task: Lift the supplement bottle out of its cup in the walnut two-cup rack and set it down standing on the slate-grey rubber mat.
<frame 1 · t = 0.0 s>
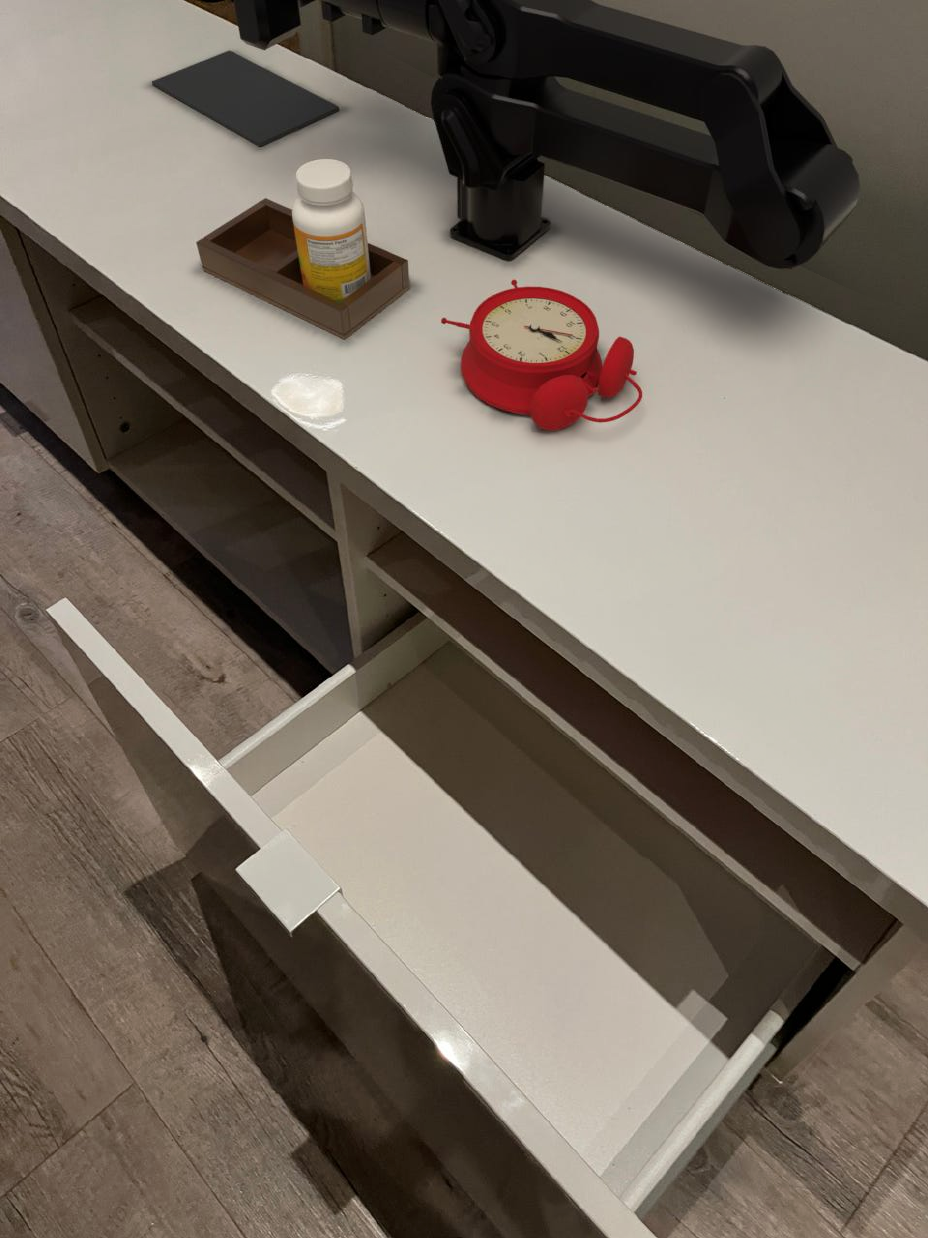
supplement bottle: (338, 293, 74), resting on rack
mat: (244, 97, 94), on the table
rack: (305, 279, 75), on the table
alarm clock: (546, 384, 68), on the table
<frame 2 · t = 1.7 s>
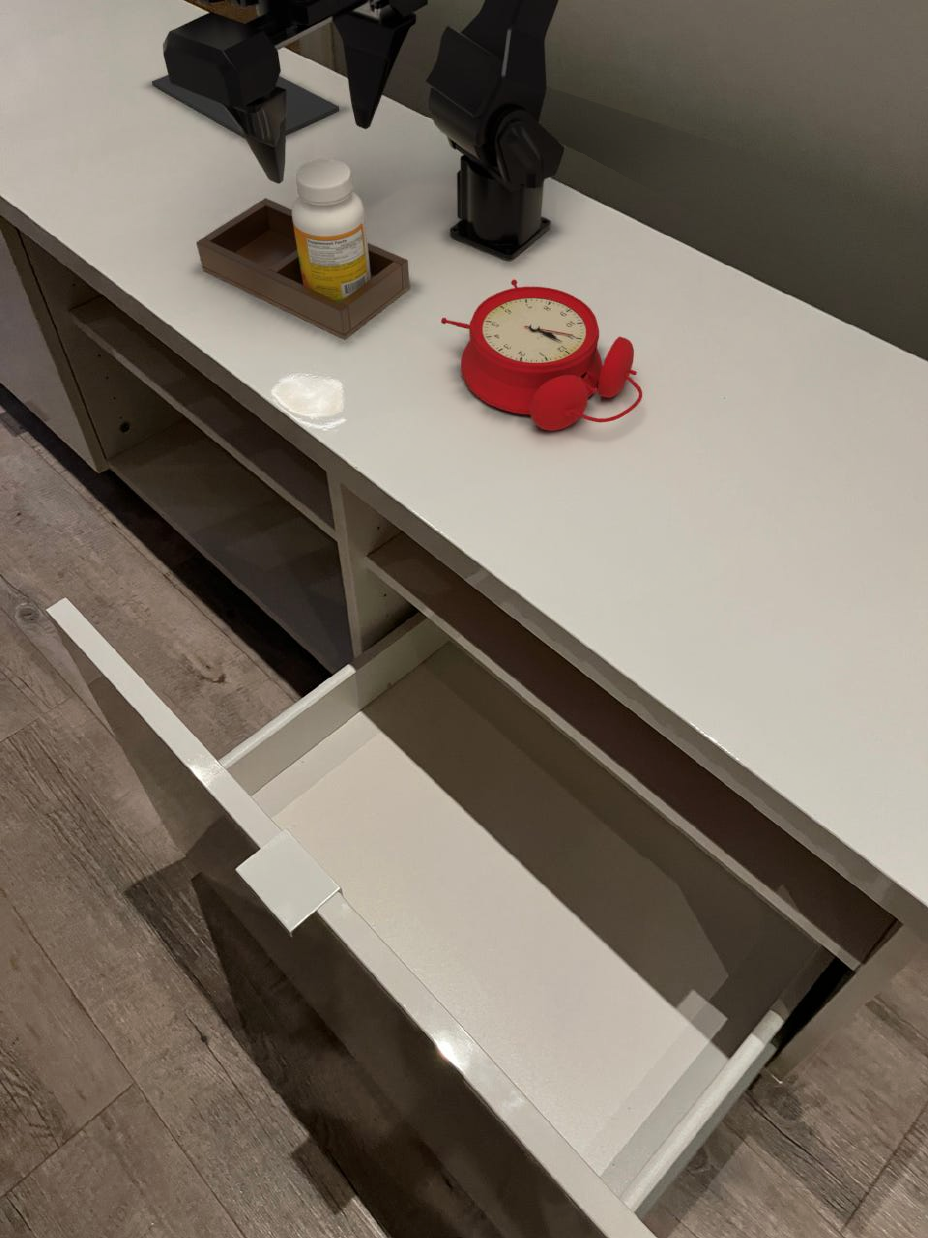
hand: (320, 152, 65), 11 cm above the table, tool pointing down, fingers open, 9 cm apart
nothing on the table moved.
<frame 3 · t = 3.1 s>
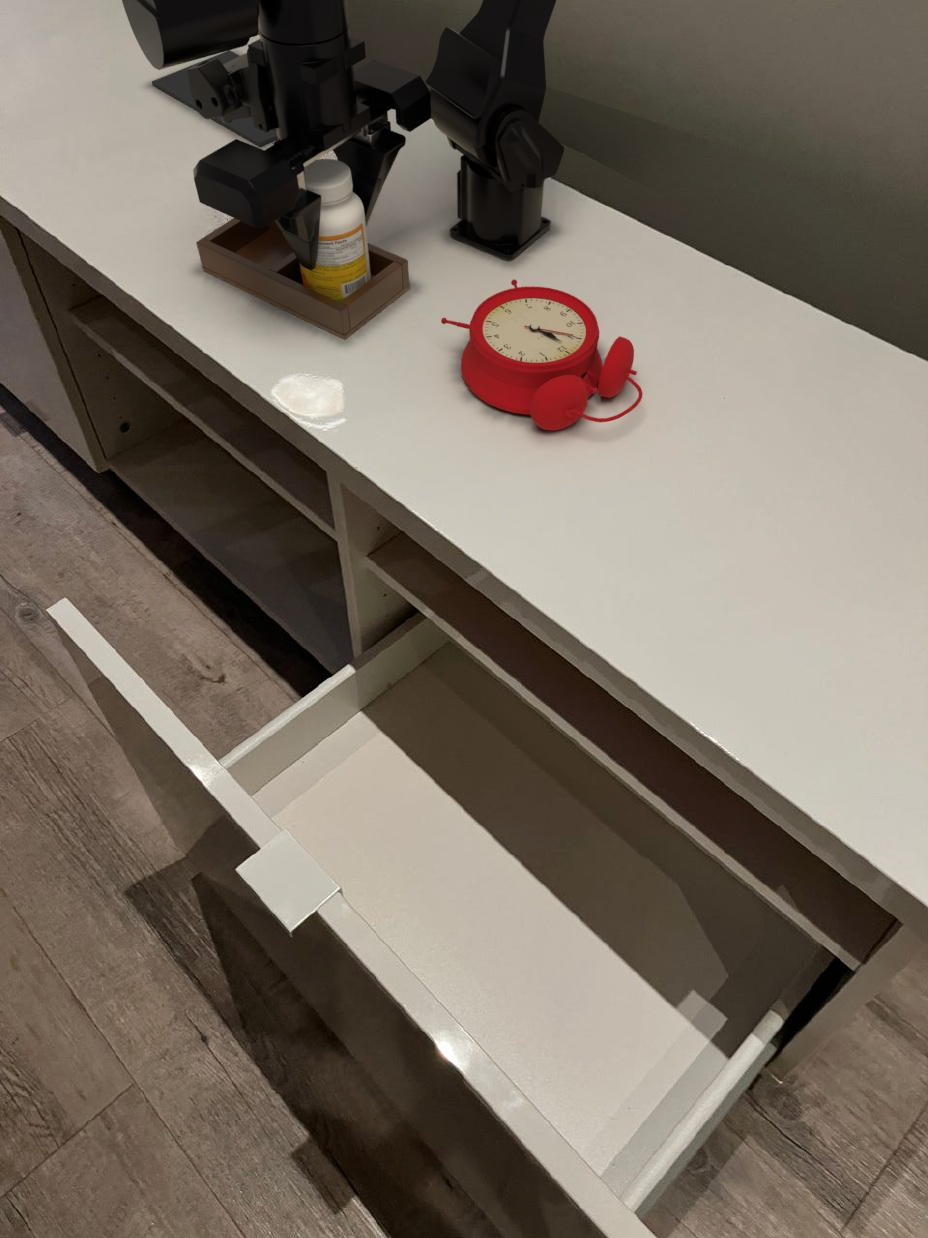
hand: (333, 249, 71), 4 cm above the table, tool pointing down, fingers closed on supplement bottle, 5 cm apart
supplement bottle: (338, 293, 74), resting on rack, touching gripper
everything else where it was.
when the fingers open (4 cm above the table, at t = 9.8 s): supplement bottle stays where it is, resting on mat.
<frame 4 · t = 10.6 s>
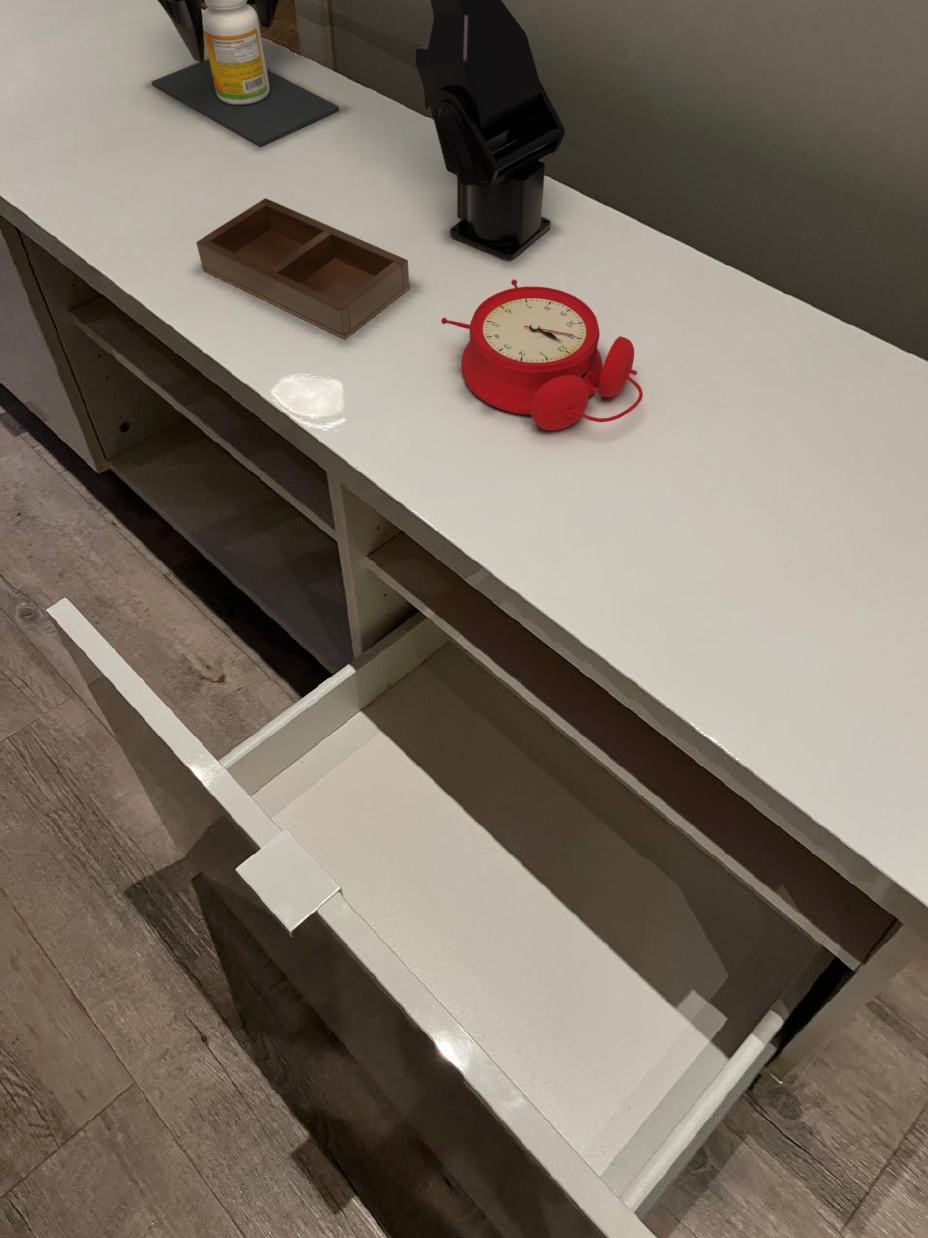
hand: (233, 42, 90), 5 cm above the table, tool pointing down, fingers open, 9 cm apart
supplement bottle: (244, 95, 94), resting on mat
everything else where it was.
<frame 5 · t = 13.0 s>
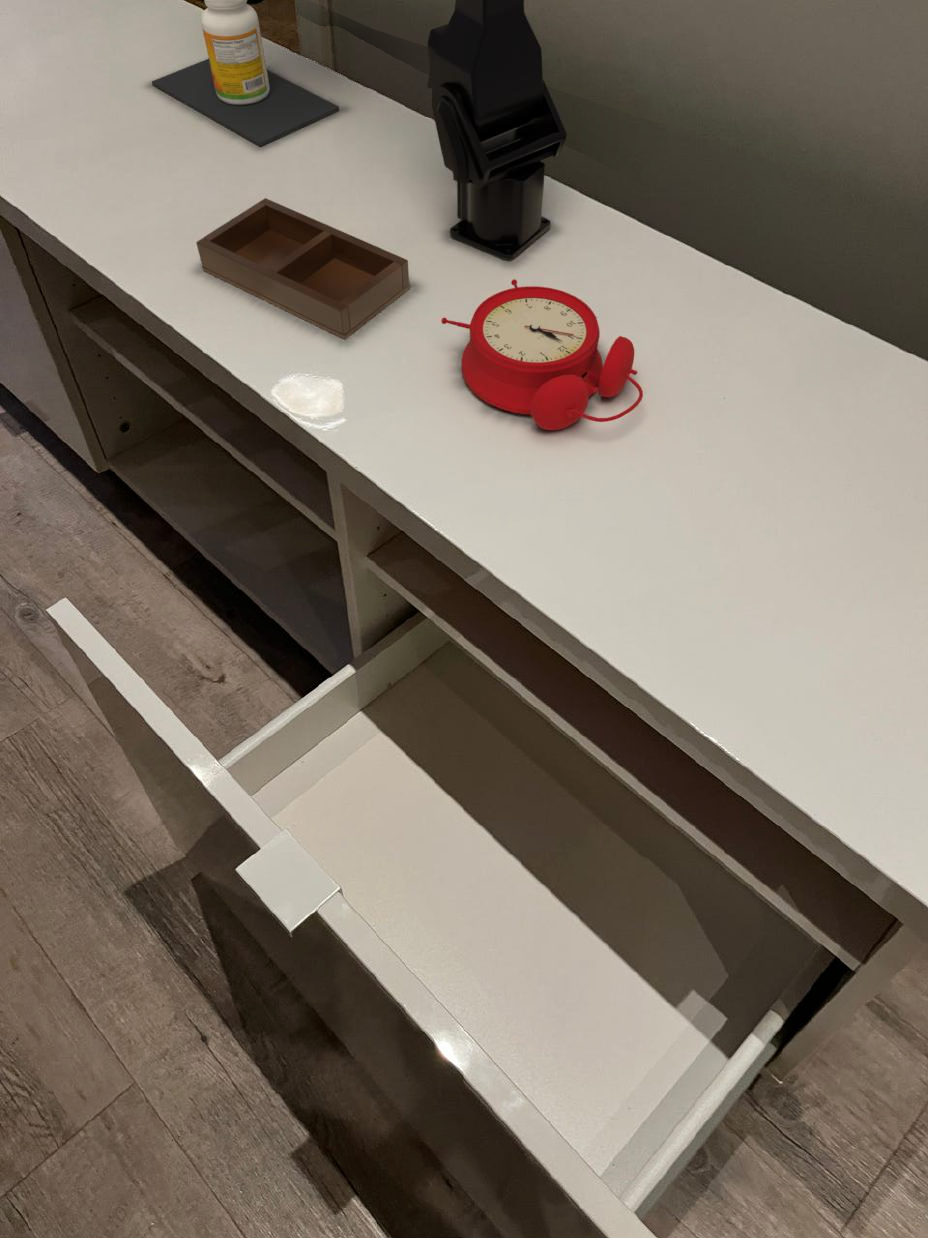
nothing on the table moved.
at the end: supplement bottle inside the target area on the mat (0.1 cm from its centre), point 0.2 cm above the mat's base; supplement bottle tilted 0°; the gripper is holding nothing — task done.
